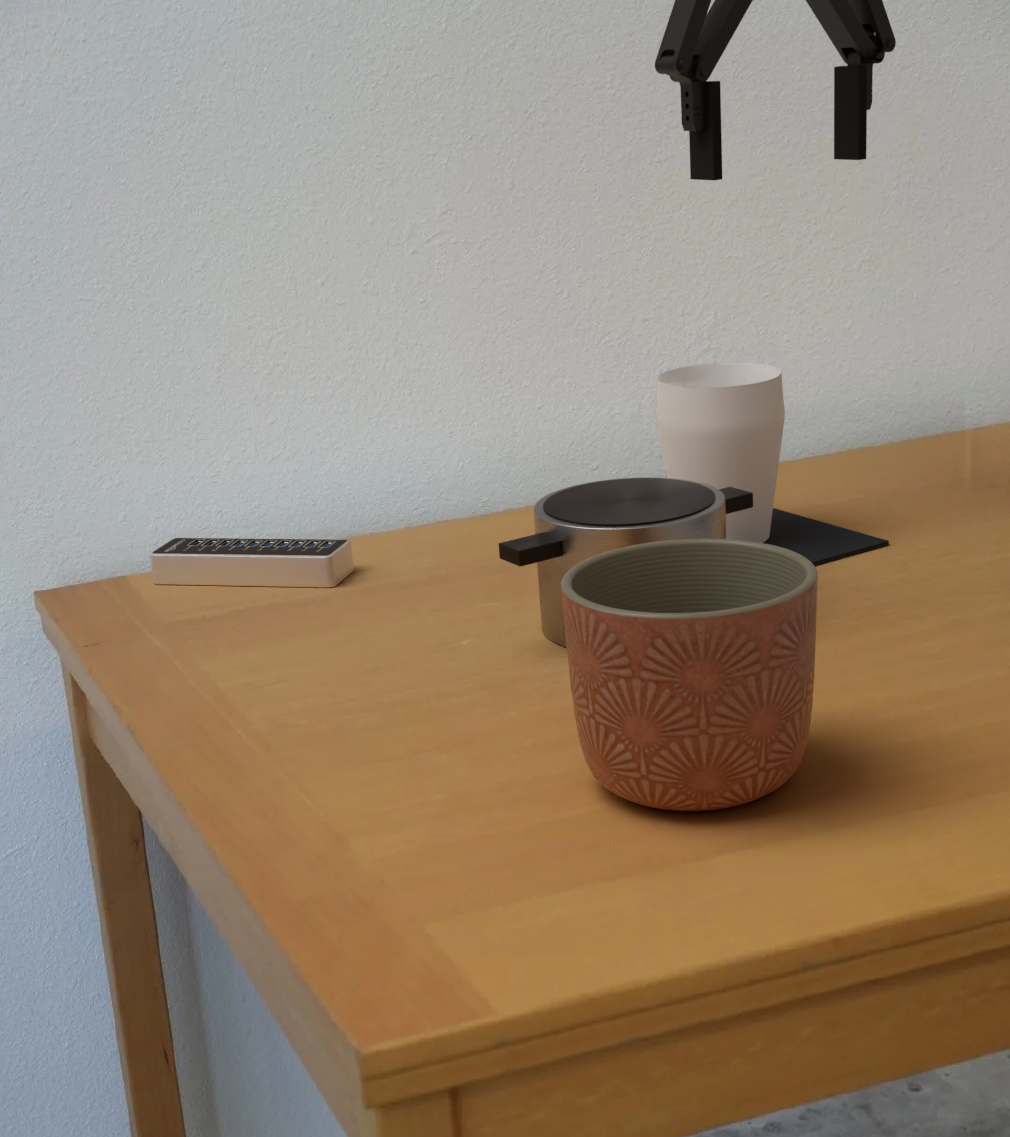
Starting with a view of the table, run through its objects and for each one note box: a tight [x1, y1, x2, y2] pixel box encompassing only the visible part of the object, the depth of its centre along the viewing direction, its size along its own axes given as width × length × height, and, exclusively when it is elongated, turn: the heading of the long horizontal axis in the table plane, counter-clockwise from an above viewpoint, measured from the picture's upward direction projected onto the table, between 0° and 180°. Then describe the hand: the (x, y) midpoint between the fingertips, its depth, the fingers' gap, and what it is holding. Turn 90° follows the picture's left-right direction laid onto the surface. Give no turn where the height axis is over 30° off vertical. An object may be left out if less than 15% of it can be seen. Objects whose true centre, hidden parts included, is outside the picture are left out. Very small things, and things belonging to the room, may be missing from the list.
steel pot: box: [498, 477, 753, 648], centre depth 108 cm, size 12×18×8 cm, turn 122°
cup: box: [656, 361, 786, 543], centre depth 122 cm, size 9×9×12 cm
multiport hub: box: [149, 537, 355, 588], centre depth 125 cm, size 4×14×2 cm, turn 74°
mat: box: [763, 507, 890, 566], centre depth 124 cm, size 14×14×1 cm
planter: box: [561, 539, 819, 812], centre depth 85 cm, size 12×12×11 cm
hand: (780, 169), depth 125 cm, fingers open, 13 cm apart
